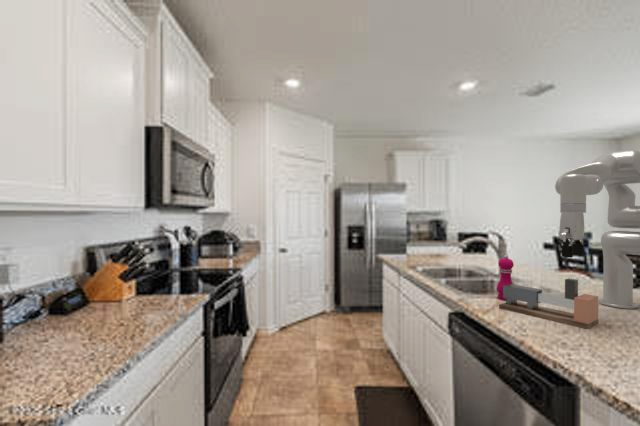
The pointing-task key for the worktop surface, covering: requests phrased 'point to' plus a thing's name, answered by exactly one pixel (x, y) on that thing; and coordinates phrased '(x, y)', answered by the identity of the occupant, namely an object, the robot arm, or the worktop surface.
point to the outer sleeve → (521, 295)
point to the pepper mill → (504, 275)
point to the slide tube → (563, 301)
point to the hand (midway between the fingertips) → (572, 255)
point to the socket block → (585, 308)
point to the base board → (547, 314)
